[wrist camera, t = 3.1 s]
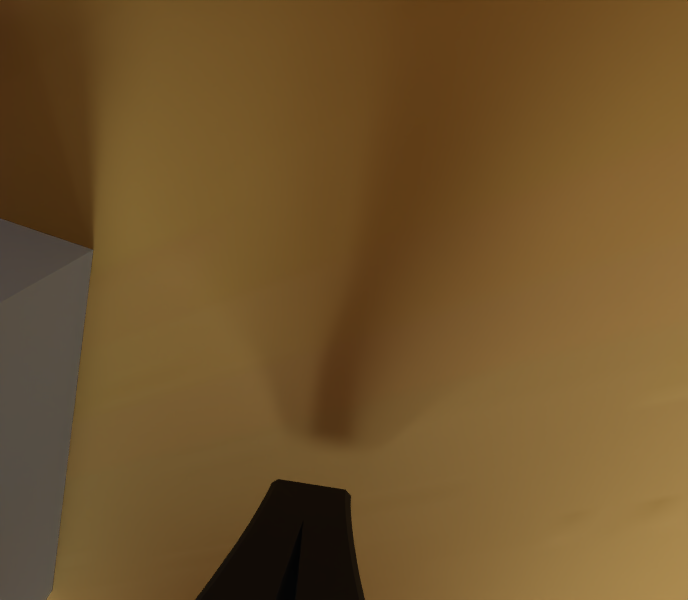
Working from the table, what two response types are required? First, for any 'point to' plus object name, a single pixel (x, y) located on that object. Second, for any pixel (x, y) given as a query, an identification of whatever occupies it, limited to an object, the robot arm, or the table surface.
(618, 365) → the table surface
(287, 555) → the robot arm
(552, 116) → the table surface
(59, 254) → the slate block
